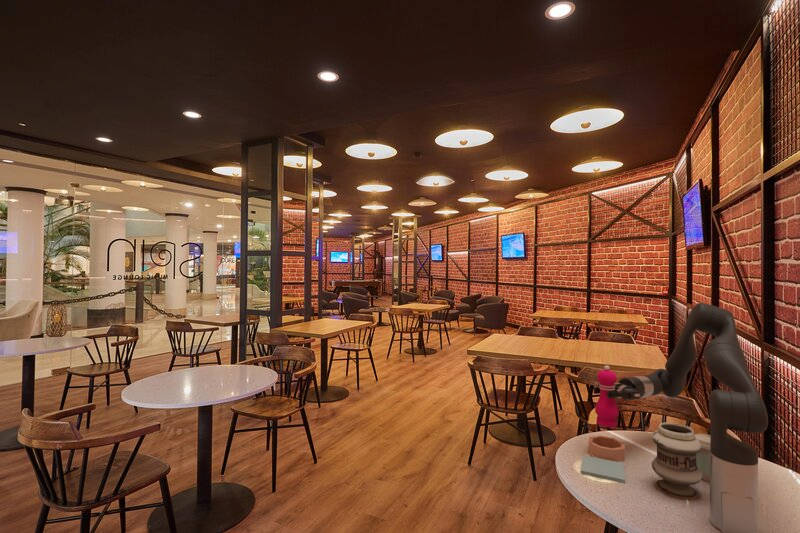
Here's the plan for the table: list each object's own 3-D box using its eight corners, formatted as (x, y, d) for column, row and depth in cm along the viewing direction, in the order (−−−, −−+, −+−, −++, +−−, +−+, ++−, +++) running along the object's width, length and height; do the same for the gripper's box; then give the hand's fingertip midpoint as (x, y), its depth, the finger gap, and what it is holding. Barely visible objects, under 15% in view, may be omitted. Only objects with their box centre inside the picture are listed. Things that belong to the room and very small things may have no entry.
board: (625, 483, 122) (625, 479, 122) (580, 473, 127) (580, 470, 127) (623, 466, 133) (623, 463, 133) (582, 457, 138) (582, 455, 138)
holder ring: (625, 464, 134) (625, 452, 134) (587, 457, 139) (588, 445, 139) (624, 451, 144) (624, 439, 144) (589, 444, 149) (589, 433, 149)
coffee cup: (732, 486, 121) (733, 445, 121) (700, 483, 123) (700, 442, 123) (716, 472, 129) (717, 434, 129) (686, 469, 131) (686, 431, 131)
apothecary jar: (642, 484, 121) (643, 423, 121) (666, 475, 127) (667, 417, 127) (686, 505, 111) (687, 438, 111) (710, 495, 116) (711, 431, 116)
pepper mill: (590, 422, 142) (590, 364, 142) (604, 419, 145) (605, 362, 145) (608, 429, 136) (608, 368, 136) (623, 426, 139) (623, 366, 139)
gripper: (618, 372, 153) (584, 376, 146) (655, 382, 139) (619, 387, 133) (618, 392, 153) (583, 397, 146) (655, 404, 139) (619, 410, 133)
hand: (601, 392), depth 139 cm, fingers closed on pepper mill, 4 cm apart
